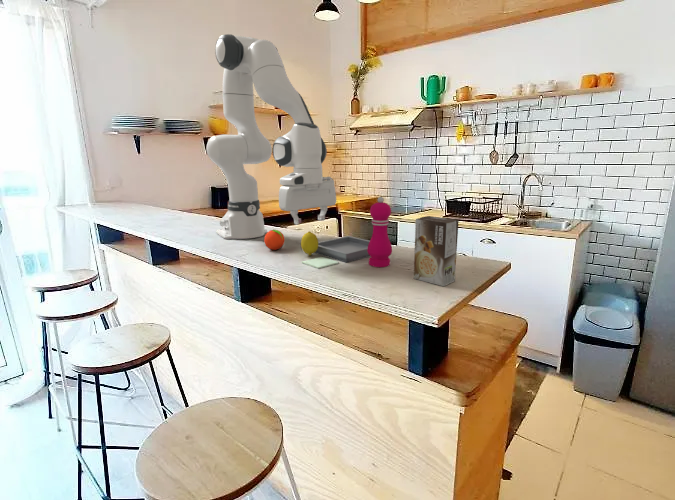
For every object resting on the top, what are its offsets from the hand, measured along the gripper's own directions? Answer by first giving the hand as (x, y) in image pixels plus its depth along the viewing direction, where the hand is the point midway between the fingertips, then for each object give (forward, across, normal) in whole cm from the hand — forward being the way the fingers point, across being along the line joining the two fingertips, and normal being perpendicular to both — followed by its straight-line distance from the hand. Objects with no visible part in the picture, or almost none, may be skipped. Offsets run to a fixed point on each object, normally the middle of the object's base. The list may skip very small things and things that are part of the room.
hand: (309, 222), depth 119 cm
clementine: (+11, +4, -14) cm, 19 cm away
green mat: (+11, +3, +8) cm, 14 cm away
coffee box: (+12, -9, +40) cm, 43 cm away
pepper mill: (+12, -9, +21) cm, 26 cm away
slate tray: (+11, -12, +4) cm, 17 cm away
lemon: (+11, 0, -1) cm, 11 cm away
